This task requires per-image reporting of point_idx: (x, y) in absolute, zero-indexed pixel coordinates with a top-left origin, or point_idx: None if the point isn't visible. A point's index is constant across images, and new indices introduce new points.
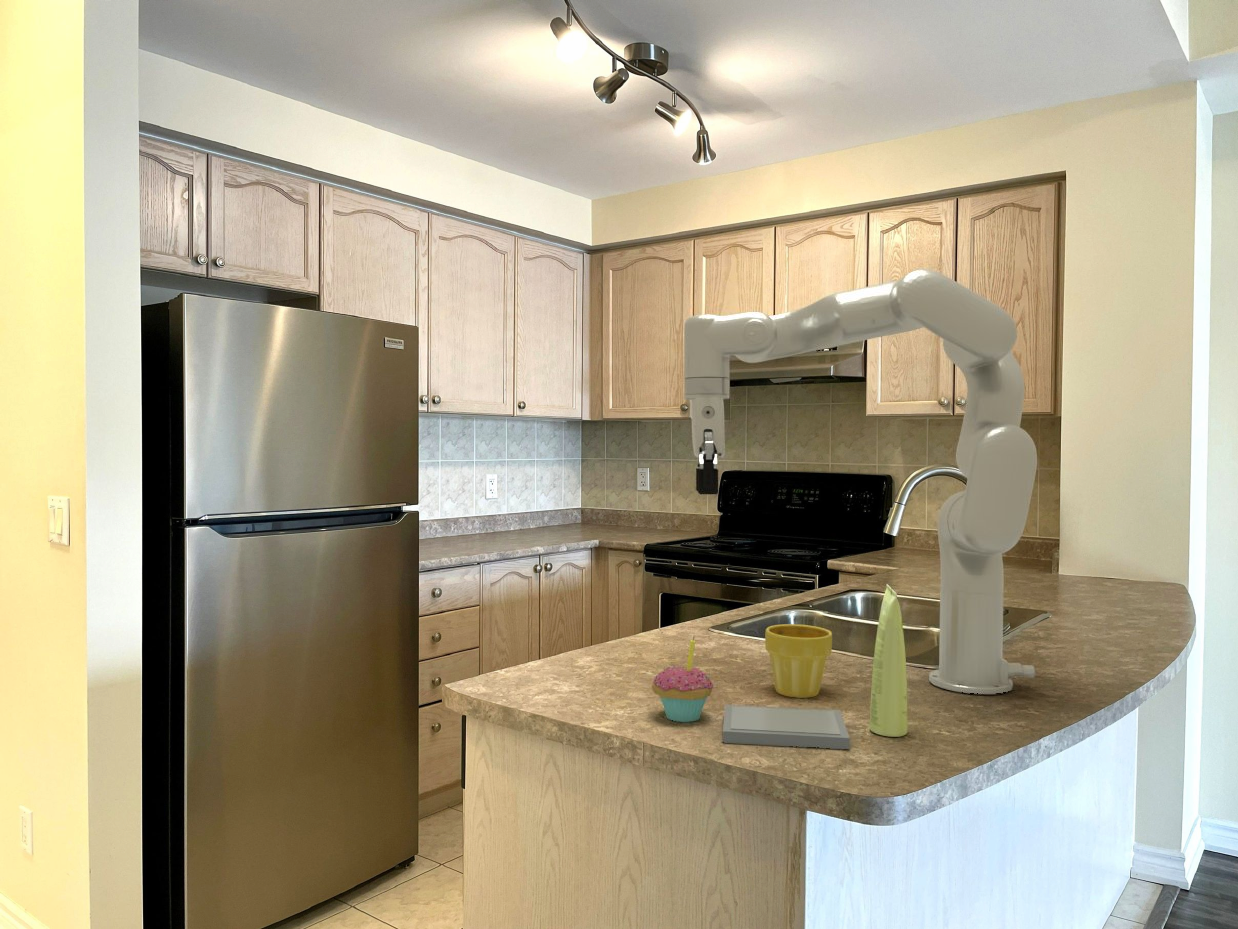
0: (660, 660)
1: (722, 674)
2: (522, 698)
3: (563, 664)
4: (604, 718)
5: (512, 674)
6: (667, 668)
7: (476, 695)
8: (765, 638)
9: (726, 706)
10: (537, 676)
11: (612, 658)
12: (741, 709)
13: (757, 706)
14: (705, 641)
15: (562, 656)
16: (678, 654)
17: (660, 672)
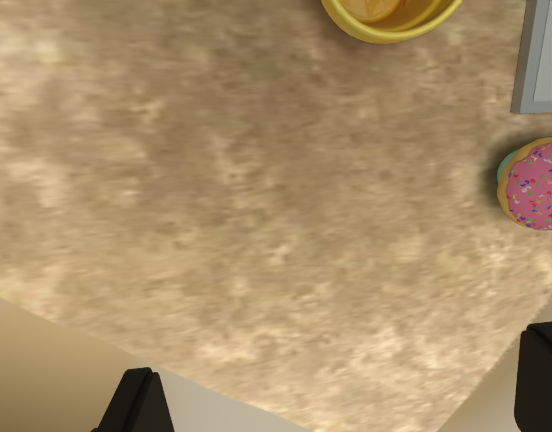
0: (193, 244)
1: (266, 131)
2: (441, 379)
3: (257, 373)
4: (525, 271)
5: (327, 418)
6: (549, 216)
7: (432, 427)
8: (398, 41)
9: (529, 110)
10: (332, 388)
11: (201, 317)
12: (550, 85)
13: (529, 59)
14: (11, 182)
15: (209, 385)
16: (140, 220)
17: (535, 225)
